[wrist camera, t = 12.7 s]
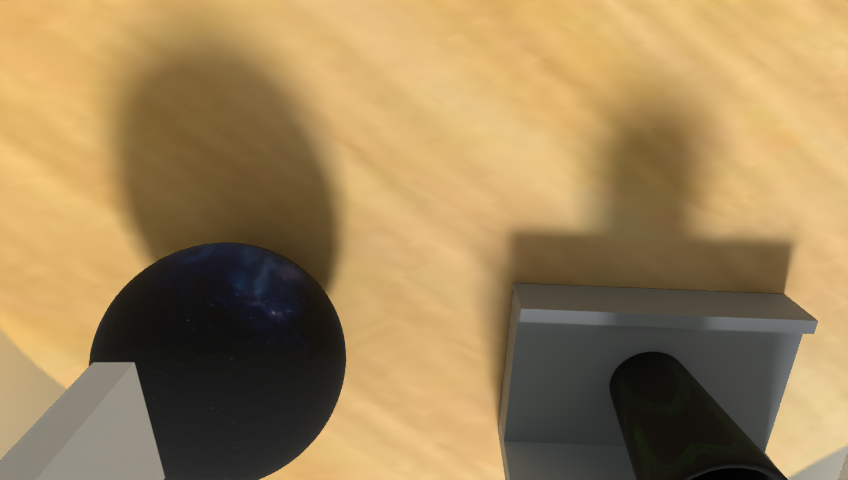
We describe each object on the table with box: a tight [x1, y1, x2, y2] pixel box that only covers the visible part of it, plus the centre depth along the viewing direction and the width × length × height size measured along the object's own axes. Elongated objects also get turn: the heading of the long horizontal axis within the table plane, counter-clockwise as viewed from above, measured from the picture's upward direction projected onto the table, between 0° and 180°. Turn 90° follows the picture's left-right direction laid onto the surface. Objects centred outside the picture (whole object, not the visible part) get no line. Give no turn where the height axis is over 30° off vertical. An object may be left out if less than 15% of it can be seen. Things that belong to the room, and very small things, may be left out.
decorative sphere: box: [89, 243, 346, 480], centre depth 36 cm, size 15×15×15 cm
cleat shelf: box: [498, 283, 818, 480], centre depth 38 cm, size 14×20×14 cm
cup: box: [609, 352, 788, 480], centre depth 36 cm, size 8×8×12 cm
